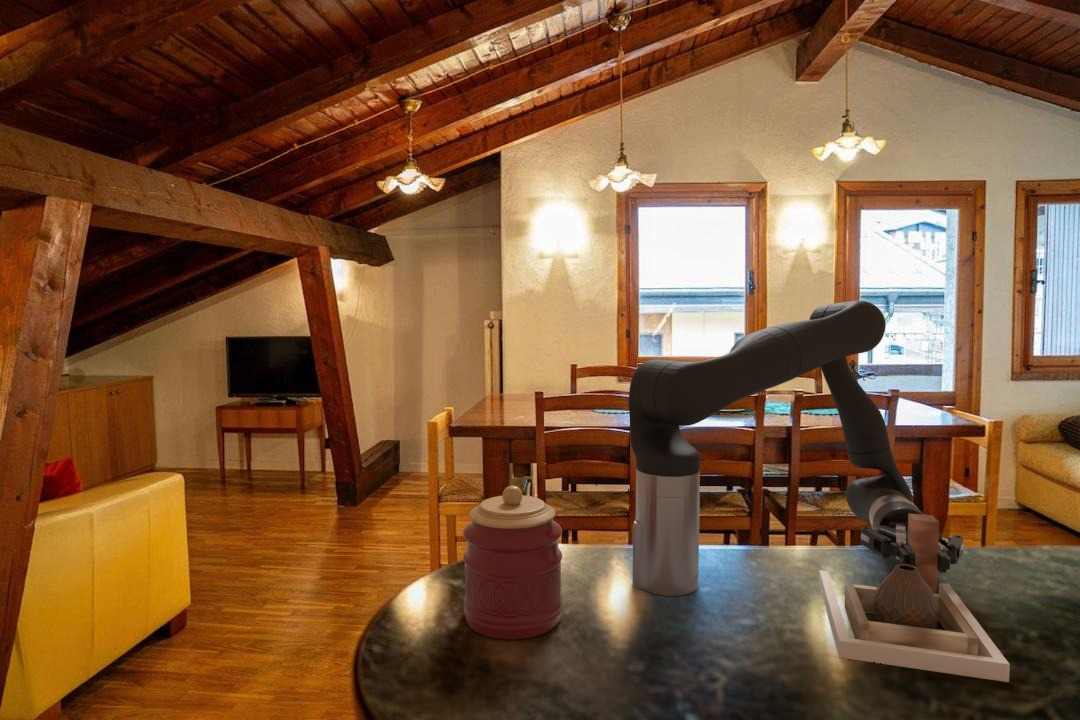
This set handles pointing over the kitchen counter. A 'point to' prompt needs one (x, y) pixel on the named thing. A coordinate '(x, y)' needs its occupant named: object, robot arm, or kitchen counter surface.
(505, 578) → the canister
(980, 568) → the kitchen counter surface
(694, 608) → the kitchen counter surface
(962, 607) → the rail lane
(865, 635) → the square wooden tray
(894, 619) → the vase
